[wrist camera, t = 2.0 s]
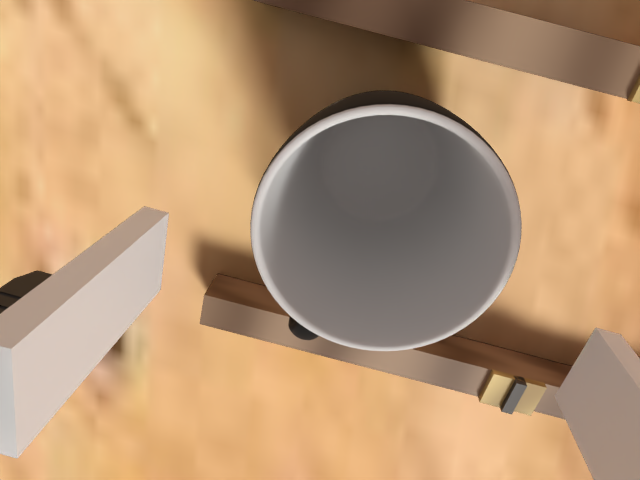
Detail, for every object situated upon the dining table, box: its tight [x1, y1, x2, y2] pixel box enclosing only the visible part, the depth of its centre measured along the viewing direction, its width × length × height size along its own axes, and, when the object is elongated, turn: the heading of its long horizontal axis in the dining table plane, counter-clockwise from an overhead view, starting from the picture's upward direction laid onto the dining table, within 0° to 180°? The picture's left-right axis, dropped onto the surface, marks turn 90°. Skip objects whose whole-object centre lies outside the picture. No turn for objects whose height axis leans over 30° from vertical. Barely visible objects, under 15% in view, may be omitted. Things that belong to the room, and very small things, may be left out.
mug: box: [251, 91, 521, 351], centre depth 21 cm, size 12×9×10 cm
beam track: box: [200, 0, 640, 419], centre depth 24 cm, size 30×19×4 cm, turn 77°
